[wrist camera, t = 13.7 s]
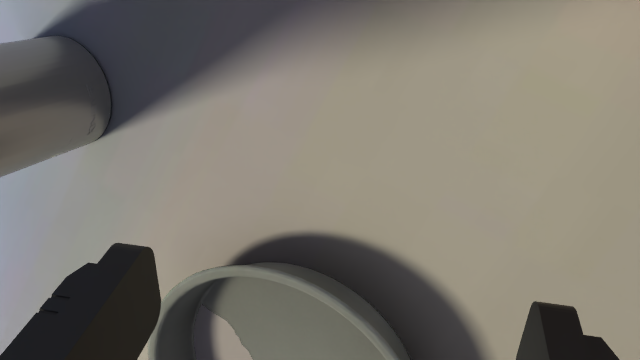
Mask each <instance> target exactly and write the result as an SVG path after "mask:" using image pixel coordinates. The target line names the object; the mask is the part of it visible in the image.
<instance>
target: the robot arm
mask: <svg viewBox="0 0 640 360" xmlns="http://www.w3.org/2000/svg"><path fill="white" fill-rule="evenodd" d="M110 111H111V100H110V92H109V88H108V84H107V81H106V79H105V76H104V74H103V72H102V70H101V68H100V66H99V65H98V63H97V62H96V60H95V59H94V58H93V56H92V55H91V54H90V53H89V52H88V51H87V50H86V49H85V48H84V47H83V46H81V45H80V44H79V43H77V42H75V41H73V40H71V39H70V38H66V37H62V36H48V37H41V38H35V39H28V40H22V41H15V42H7V43H1V44H0V177H2V176H5V175H7V174H10V173H13V172H15V171H18V170H21V169H23V168H26V167H28V166H31V165H34V164H36V163H39V162H42V161H44V160H47V159H50V158H52V157H55V156H58V155H60V154H63V153H66V152H68V151H71V150H73V149H76V148H79V147H81V146H84V145H87V144H89V143H91V142H93V141H95V140H97V139H98V138H99V137H100V136H101V135H102V134H103V132H104V131H105V129H106V127H107V125H108V122H109V118H110ZM160 310H161V297H160V290H159V284H158V277H157V271H156V264H155V258H154V253H153V250H152V249H151V248H150V247H144V246H137V245H130V244H122V243H115V244H113V245H112V246H111V247H110V248H109V250H108V251H107V252H106V253H105V255H104V256H103V257H102V258H101V260H100V261H99V262H98V263H97V264H94V263H87V264H86V265H84V266H83V267H81V268H79V269H78V270H76V271H75V272H73V273H72V274H70V275H69V276H67V277H66V278H65V279H64V281H63V282H62V283H61V284H60V285H59V286H58V288H57V289H56V290H55V291H54V292H53V294H52V297H51V298H48V300H47V301H46V302H45V303H44V304H43V305H42V307H41V308H40V311H39V313H36V314H35V315H34V316H33V317H32V319H31V320H30V321H29V322H28V323H27V325H26V326H25V327H24V328H23V329H22V330H21V332H20V333H19V334H18V335H17V336H16V338H15V339H14V340H13V341H12V342H11V344H10V345H9V346H8V347H7V348H6V349H5V351H4V352H3V353H2V354H1V355H0V360H137V359H138V357H139V355H140V353H141V352H142V350H143V348H144V346H145V345H146V343H147V341H148V339H149V338H150V336H151V334H152V333H153V331H154V329H155V327H156V325H157V322H158V319H159V315H160ZM516 360H619V359H618V357H617V356H616V355H615V354H614V352H613V351H612V350H611V349H610V348H609V346H608V345H607V344H606V343H605V342H604V340H603V339H602V338H601V337H594V336H587V335H583V332H582V328H581V325H580V321H579V318H578V314H577V311H576V309H575V308H574V307H572V306H565V305H558V304H551V303H543V302H536V301H535V302H533V303H532V305H531V308H530V311H529V314H528V318H527V321H526V325H525V328H524V332H523V335H522V339H521V342H520V346H519V349H518V353H517V357H516Z"/></svg>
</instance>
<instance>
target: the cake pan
mask: <svg viewBox="0 0 640 360" xmlns="http://www.w3.org/2000/svg"><path fill="white" fill-rule="evenodd" d="M201 304H202V305H204V306H205V307H206V308H207V309H208V310H210V311H212V312H213V313H215V314H216V315H218V316H220V317H221V318H223V319H224V320H226V321H227V322H228V323H229V324H230V326H231V327H232V328H233V329H234V330H235V333H236V335H237V336H238V337H239V338H240V341H241V343H242V345H243V346H244V347H245V348H246V349H247V350H248V351H249V353H250V355H251V357H252V359H253V360H410V358H409V356H408V354H407V352H406V350H405V348H404V346H403V344H402V343H401V341H400V339H399V338H398V336H397V335H396V334H395V332H394V331H393V329H392V328H391V327H390V325H389V324H388V323H387V322H386V321H385V319H384V318H383V317H382V316H381V315H380V314H379V313H378V312H377V311H376V310H375V309H374V308H373V307H372V306H371V305H370V304H369V303H368V302H367V301H365V300H364V299H363V298H362V297H360V296H359V295H358V294H356V293H355V292H354V291H352V290H351V289H349V288H348V287H346V286H345V285H343V284H342V283H340V282H338V281H336V280H334V279H333V278H331V277H329V276H327V275H324V274H322V273H319V272H317V271H314V270H312V269H309V268H305V267H301V266H298V265H292V264H287V263H277V262H262V263H254V264H248V265H232V266H222V267H216V268H212V269H207V270H203V271H201V272H198V273H195V274H193V275H192V276H190V277H188V278H186V279H185V280H183V281H182V282H180V283H179V284H178V285H176V286H175V287H174V288H173V289H172V290H171V291H170V292H169V293H168V294H167V295H166V297H165V298H164V299H163V301H162V302H161V310H160V315H159V319H158V322H157V325H156V327H155V329H154V331H153V333H152V334H151V336H150V338H149V342H148V358H149V360H196V355H195V349H194V325H195V320H196V316H197V313H198V311H199V308H200V306H201Z"/></svg>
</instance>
